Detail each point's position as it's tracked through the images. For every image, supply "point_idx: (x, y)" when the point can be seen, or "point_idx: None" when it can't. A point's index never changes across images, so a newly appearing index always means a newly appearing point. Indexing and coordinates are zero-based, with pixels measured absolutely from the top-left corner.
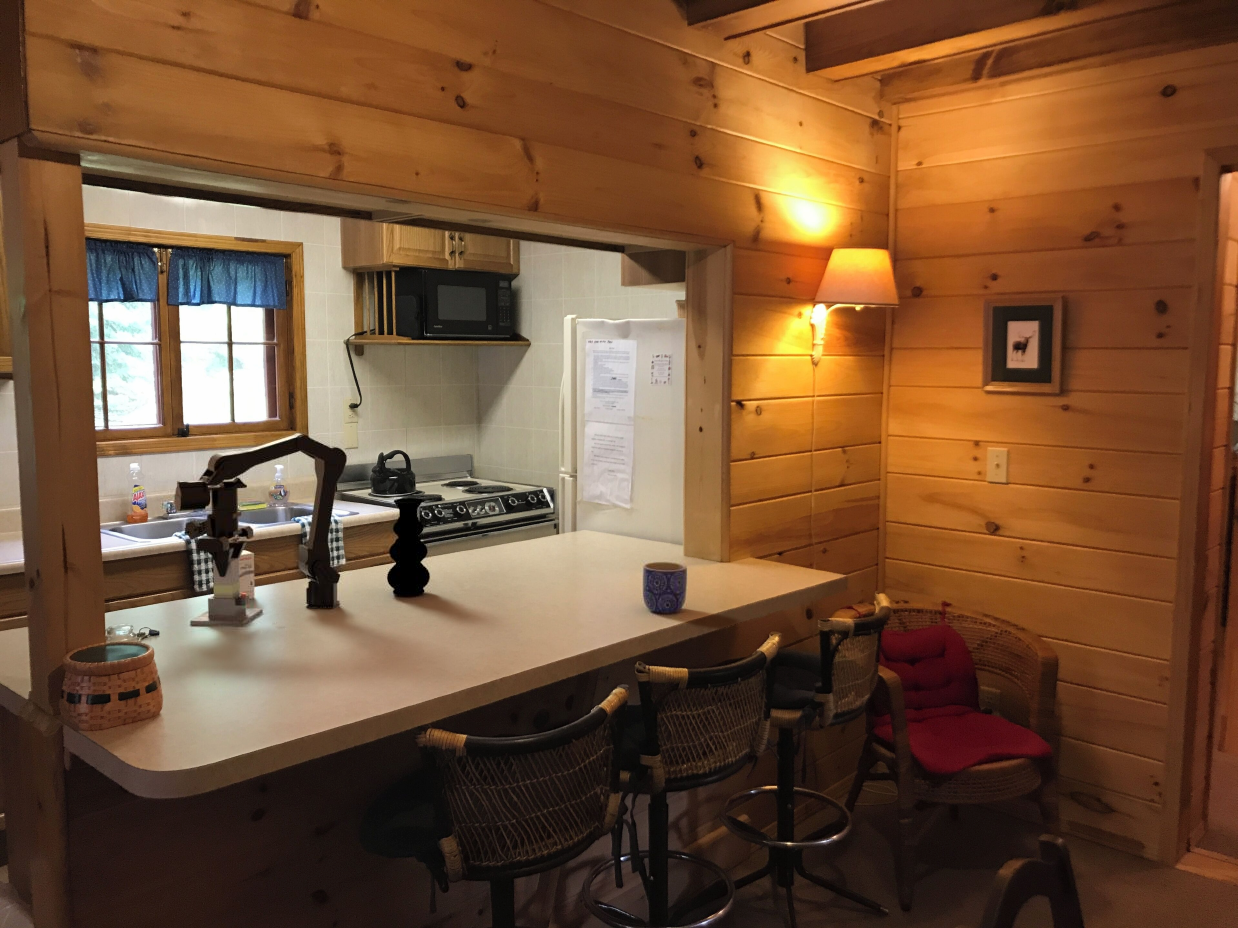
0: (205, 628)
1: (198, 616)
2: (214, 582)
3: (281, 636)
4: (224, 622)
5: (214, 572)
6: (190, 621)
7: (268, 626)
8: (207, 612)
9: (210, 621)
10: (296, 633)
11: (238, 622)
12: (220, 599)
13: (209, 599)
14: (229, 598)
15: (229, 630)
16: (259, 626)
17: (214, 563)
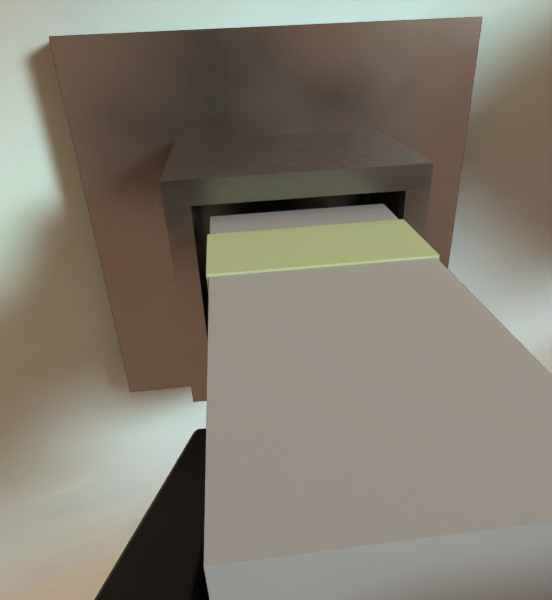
0: (15, 197)
1: (195, 36)
2: (212, 300)
3: (21, 575)
4: (110, 291)
5: (207, 392)
6: (52, 37)
7: (162, 476)
8: (329, 49)
9: (88, 203)
10: (85, 597)
11: (126, 368)
12: (177, 294)
13: (164, 193)
14: (207, 357)
15: (28, 352)
16: (152, 444)
17: (207, 540)
